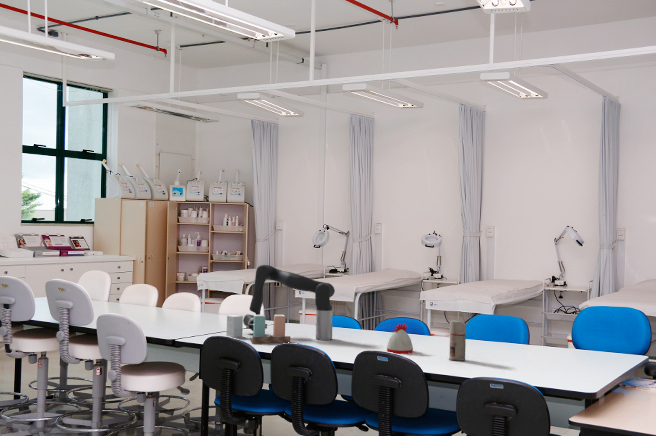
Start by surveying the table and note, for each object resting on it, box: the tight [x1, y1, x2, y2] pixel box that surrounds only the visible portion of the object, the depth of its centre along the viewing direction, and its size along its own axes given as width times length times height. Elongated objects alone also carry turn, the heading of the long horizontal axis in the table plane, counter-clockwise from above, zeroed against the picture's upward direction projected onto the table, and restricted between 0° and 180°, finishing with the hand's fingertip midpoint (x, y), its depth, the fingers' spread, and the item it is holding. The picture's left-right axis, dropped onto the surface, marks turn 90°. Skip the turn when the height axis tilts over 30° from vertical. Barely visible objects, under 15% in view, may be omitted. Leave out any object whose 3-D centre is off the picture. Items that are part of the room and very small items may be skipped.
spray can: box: [448, 319, 467, 361], centre depth 332 cm, size 8×8×20 cm
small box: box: [226, 314, 244, 338], centre depth 386 cm, size 8×6×13 cm
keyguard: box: [249, 335, 291, 345], centre depth 371 cm, size 21×15×5 cm
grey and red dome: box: [386, 323, 414, 355], centre depth 353 cm, size 14×14×15 cm
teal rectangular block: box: [252, 314, 266, 337], centre depth 372 cm, size 6×5×14 cm
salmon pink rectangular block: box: [272, 314, 286, 336], centre depth 374 cm, size 6×5×14 cm
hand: (258, 328), depth 375 cm, fingers closed
